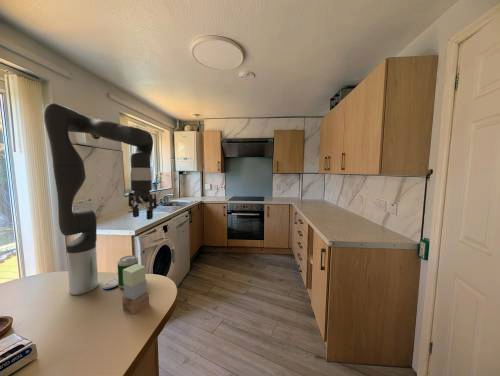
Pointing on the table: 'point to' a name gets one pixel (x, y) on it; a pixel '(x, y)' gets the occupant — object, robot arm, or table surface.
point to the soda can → (123, 264)
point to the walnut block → (135, 303)
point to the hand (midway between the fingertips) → (142, 218)
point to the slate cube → (135, 290)
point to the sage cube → (134, 275)
